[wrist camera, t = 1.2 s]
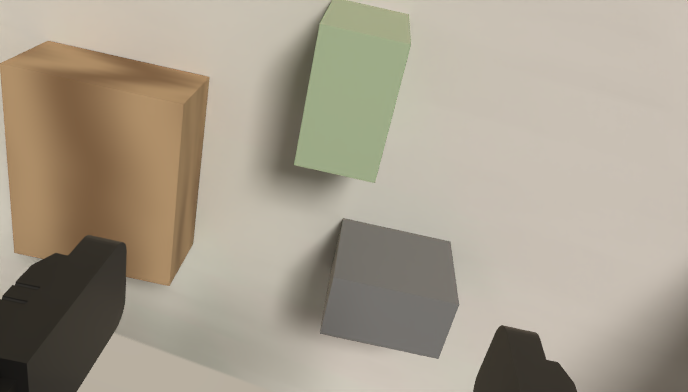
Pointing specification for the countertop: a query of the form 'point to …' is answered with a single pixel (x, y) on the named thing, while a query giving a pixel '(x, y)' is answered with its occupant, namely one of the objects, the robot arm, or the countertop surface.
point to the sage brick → (353, 89)
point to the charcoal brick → (391, 289)
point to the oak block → (103, 155)
